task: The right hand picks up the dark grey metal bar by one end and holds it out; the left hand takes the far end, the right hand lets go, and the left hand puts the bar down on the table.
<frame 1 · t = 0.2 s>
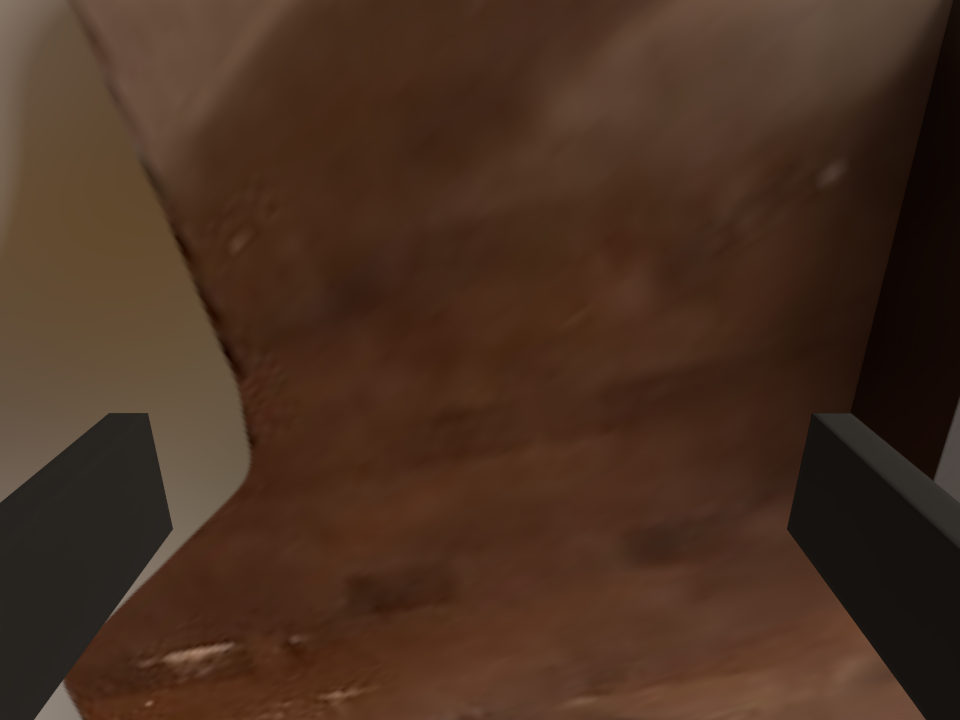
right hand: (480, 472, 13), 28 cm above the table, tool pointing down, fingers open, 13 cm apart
bar: (936, 255, 39), on the table
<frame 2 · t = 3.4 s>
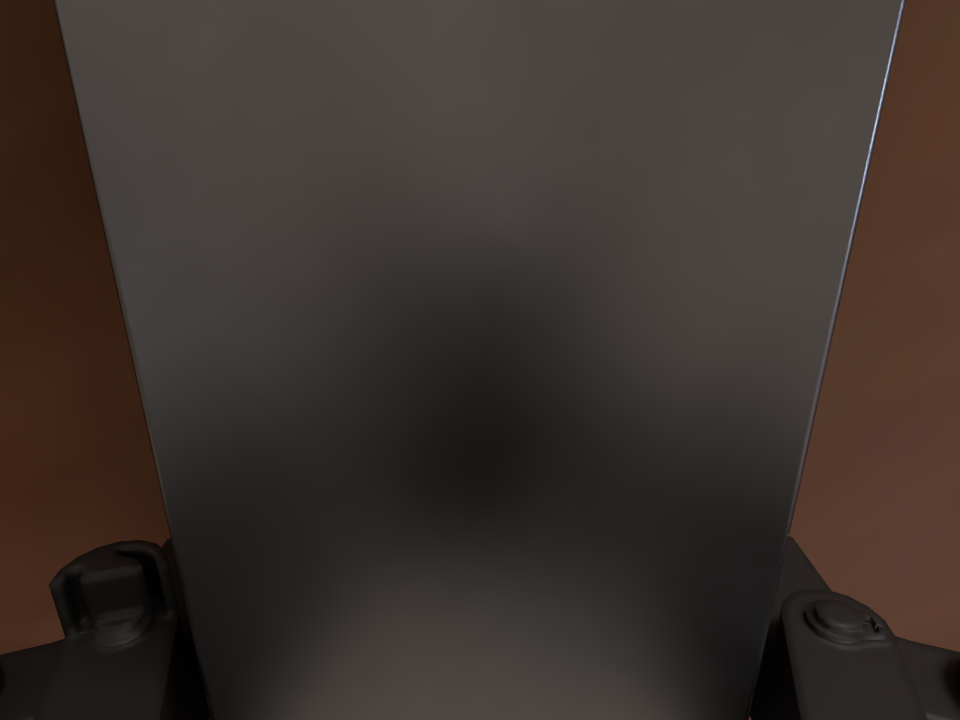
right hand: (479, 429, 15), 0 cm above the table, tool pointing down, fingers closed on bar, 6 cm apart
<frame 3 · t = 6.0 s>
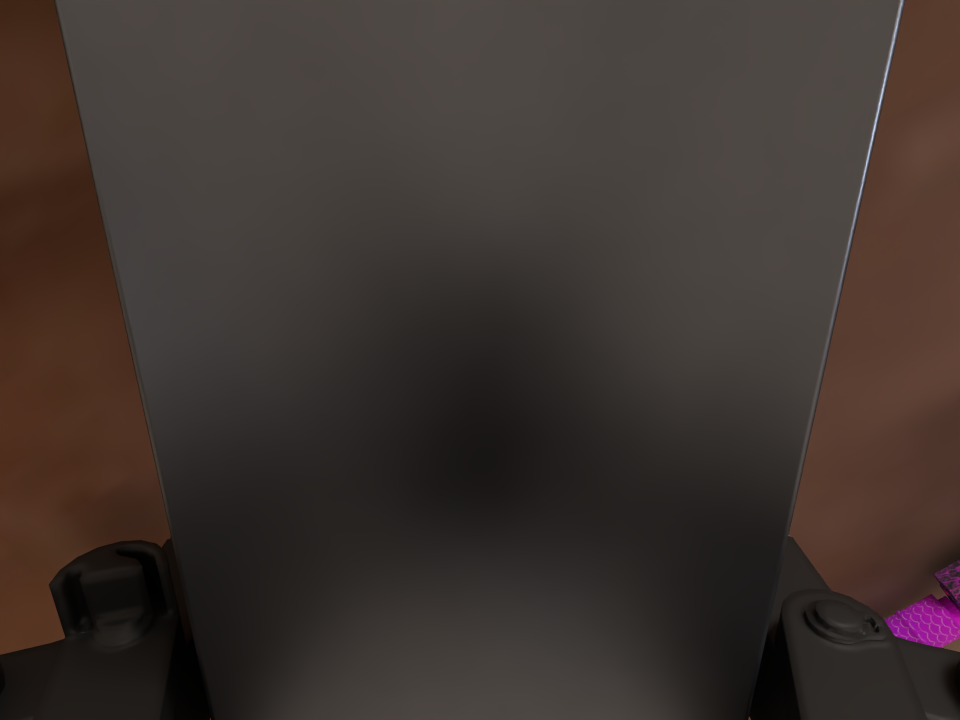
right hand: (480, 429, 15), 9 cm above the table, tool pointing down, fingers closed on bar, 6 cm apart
handgun: (945, 539, 27), on the table
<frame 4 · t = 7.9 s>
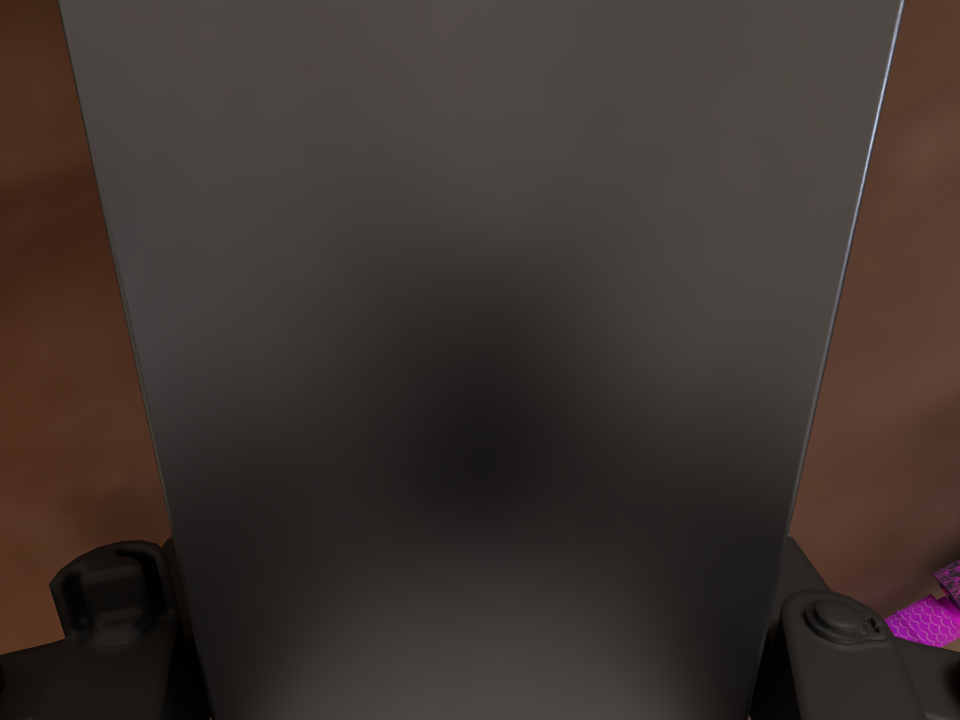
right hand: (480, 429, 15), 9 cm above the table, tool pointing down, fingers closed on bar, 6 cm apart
handgun: (944, 539, 27), on the table
when the right hand's fingers open (9 cm above the table, at t = 8.5 s): bar stays where it is, held by the left hand.
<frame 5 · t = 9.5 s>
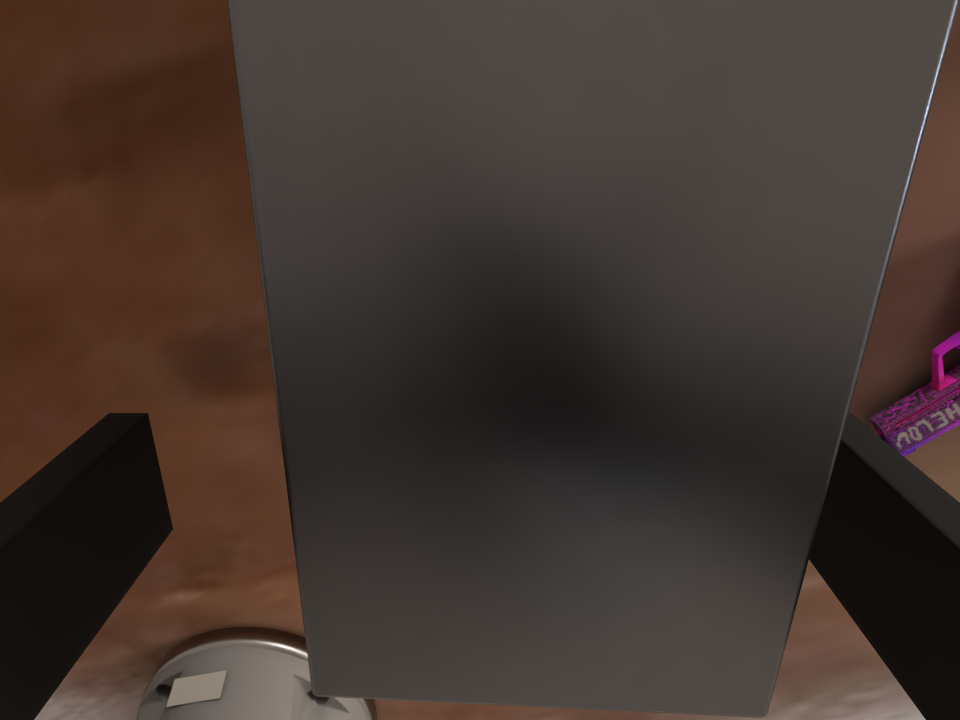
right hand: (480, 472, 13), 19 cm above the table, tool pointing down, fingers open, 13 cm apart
handgun: (880, 390, 33), on the table
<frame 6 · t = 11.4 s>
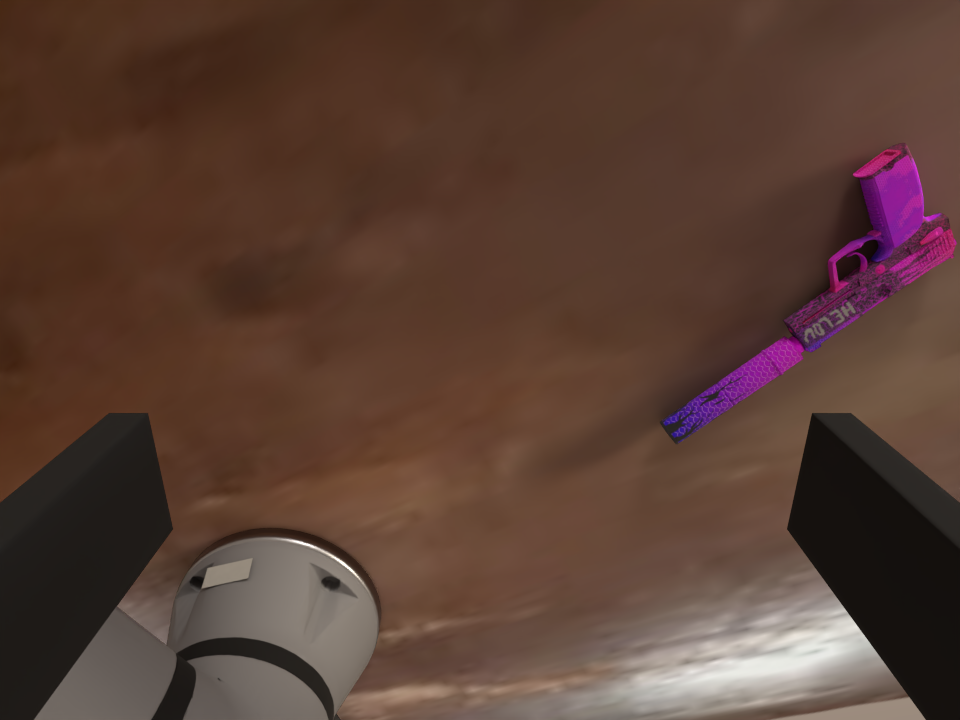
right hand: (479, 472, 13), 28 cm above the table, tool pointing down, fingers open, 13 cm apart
handgun: (791, 297, 40), on the table
when the left hand's fingers open (2 cm above the table, at t = 15.3 s): bar drops 1 cm, on the table.
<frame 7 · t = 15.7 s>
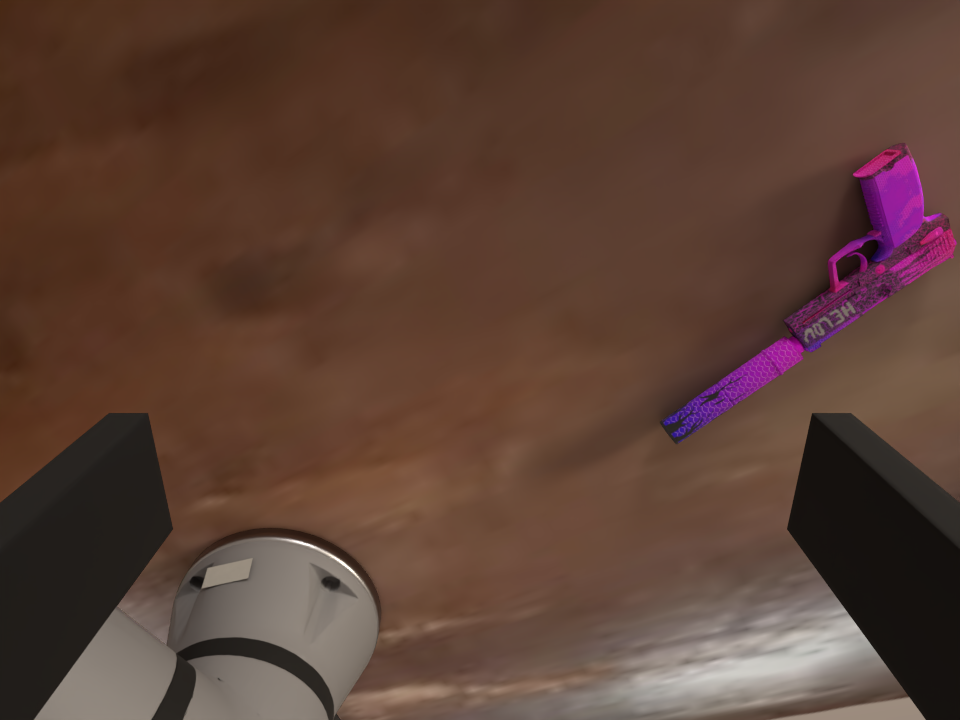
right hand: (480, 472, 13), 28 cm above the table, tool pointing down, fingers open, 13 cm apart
handgun: (791, 297, 40), on the table
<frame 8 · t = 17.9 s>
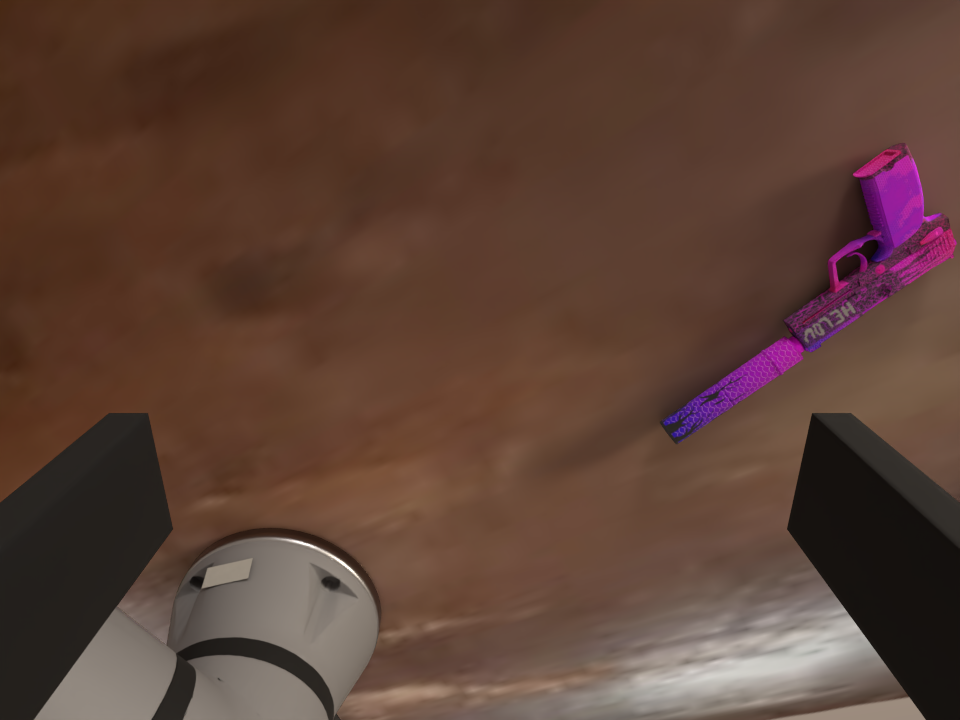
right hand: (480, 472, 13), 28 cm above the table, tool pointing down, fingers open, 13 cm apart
handgun: (791, 297, 40), on the table
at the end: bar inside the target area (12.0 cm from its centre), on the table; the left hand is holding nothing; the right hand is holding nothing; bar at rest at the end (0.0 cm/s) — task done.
